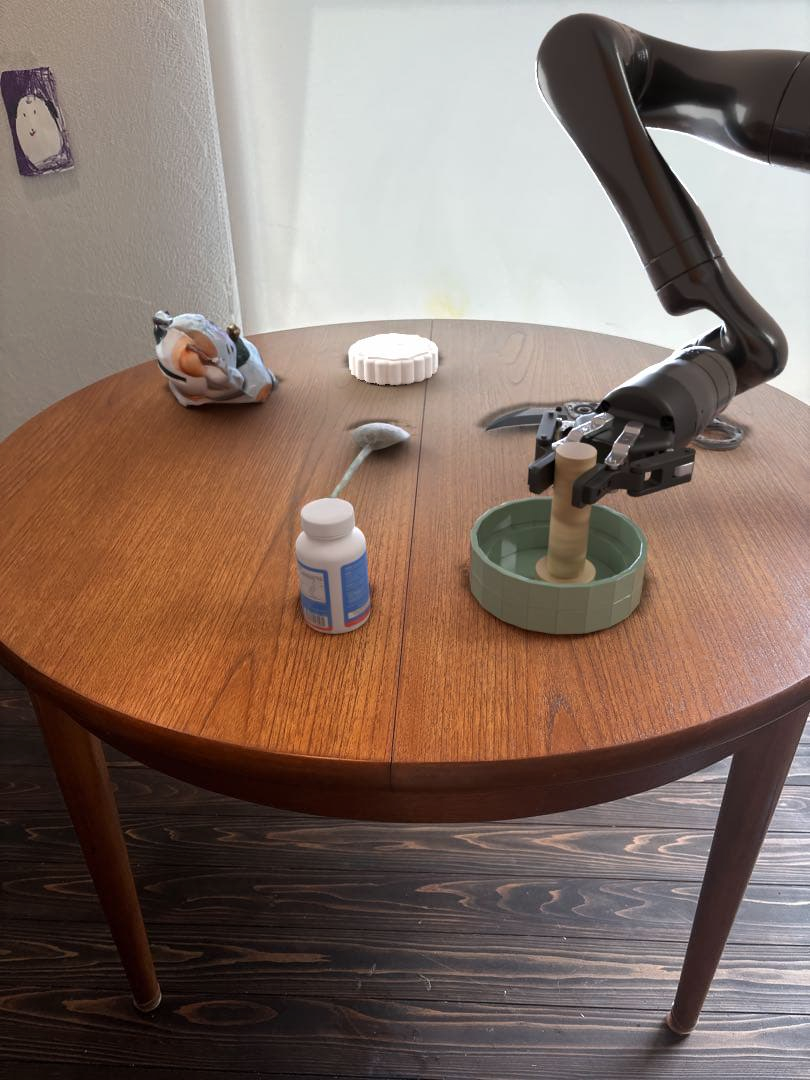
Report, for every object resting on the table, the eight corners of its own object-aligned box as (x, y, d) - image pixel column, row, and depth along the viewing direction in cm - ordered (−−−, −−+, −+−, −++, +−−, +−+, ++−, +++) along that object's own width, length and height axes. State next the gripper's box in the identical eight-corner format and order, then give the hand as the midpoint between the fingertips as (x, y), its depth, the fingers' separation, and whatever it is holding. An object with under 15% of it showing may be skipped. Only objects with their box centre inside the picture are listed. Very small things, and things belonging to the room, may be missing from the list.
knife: (483, 426, 98) (495, 389, 106) (483, 438, 99) (495, 401, 107) (747, 448, 92) (739, 407, 100) (744, 461, 93) (736, 419, 101)
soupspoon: (418, 441, 99) (365, 437, 101) (417, 413, 98) (362, 410, 100) (351, 528, 81) (287, 522, 83) (348, 496, 80) (283, 490, 81)
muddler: (587, 567, 72) (601, 435, 66) (599, 600, 68) (616, 464, 62) (530, 568, 72) (539, 437, 66) (539, 602, 68) (549, 465, 62)
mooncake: (441, 385, 113) (441, 358, 111) (348, 387, 112) (347, 361, 110) (435, 354, 123) (435, 329, 121) (350, 356, 123) (349, 331, 121)
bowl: (618, 543, 78) (624, 494, 76) (659, 638, 66) (668, 584, 64) (463, 547, 78) (464, 498, 76) (477, 643, 66) (479, 589, 64)
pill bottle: (366, 593, 72) (360, 489, 67) (375, 631, 68) (369, 524, 63) (300, 600, 72) (289, 496, 67) (305, 640, 67) (294, 531, 62)
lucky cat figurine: (296, 396, 110) (265, 317, 98) (220, 452, 107) (178, 377, 95) (232, 337, 117) (195, 256, 105) (159, 388, 114) (113, 311, 102)
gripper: (588, 355, 76) (476, 418, 65) (746, 390, 69) (650, 469, 57) (580, 433, 80) (474, 506, 69) (729, 474, 73) (637, 564, 61)
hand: (555, 488), depth 63 cm, fingers closed on muddler, 3 cm apart
